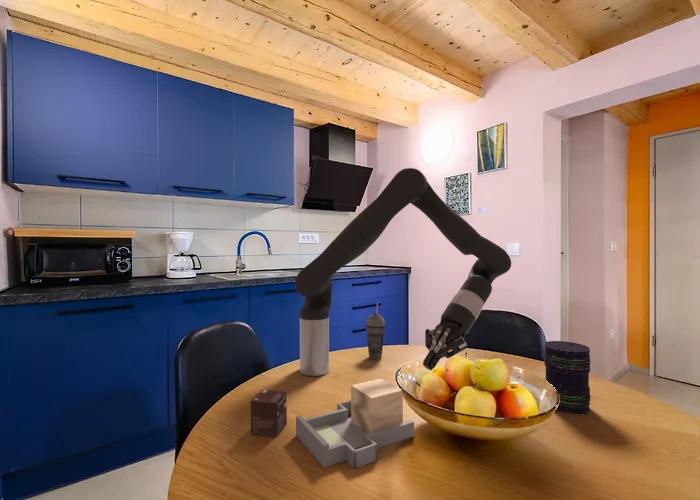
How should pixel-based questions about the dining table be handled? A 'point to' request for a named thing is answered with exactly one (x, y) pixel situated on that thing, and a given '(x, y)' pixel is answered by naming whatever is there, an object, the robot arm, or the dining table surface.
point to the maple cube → (376, 405)
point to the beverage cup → (375, 335)
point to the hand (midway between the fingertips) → (426, 367)
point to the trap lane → (346, 437)
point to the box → (268, 413)
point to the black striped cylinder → (569, 375)
